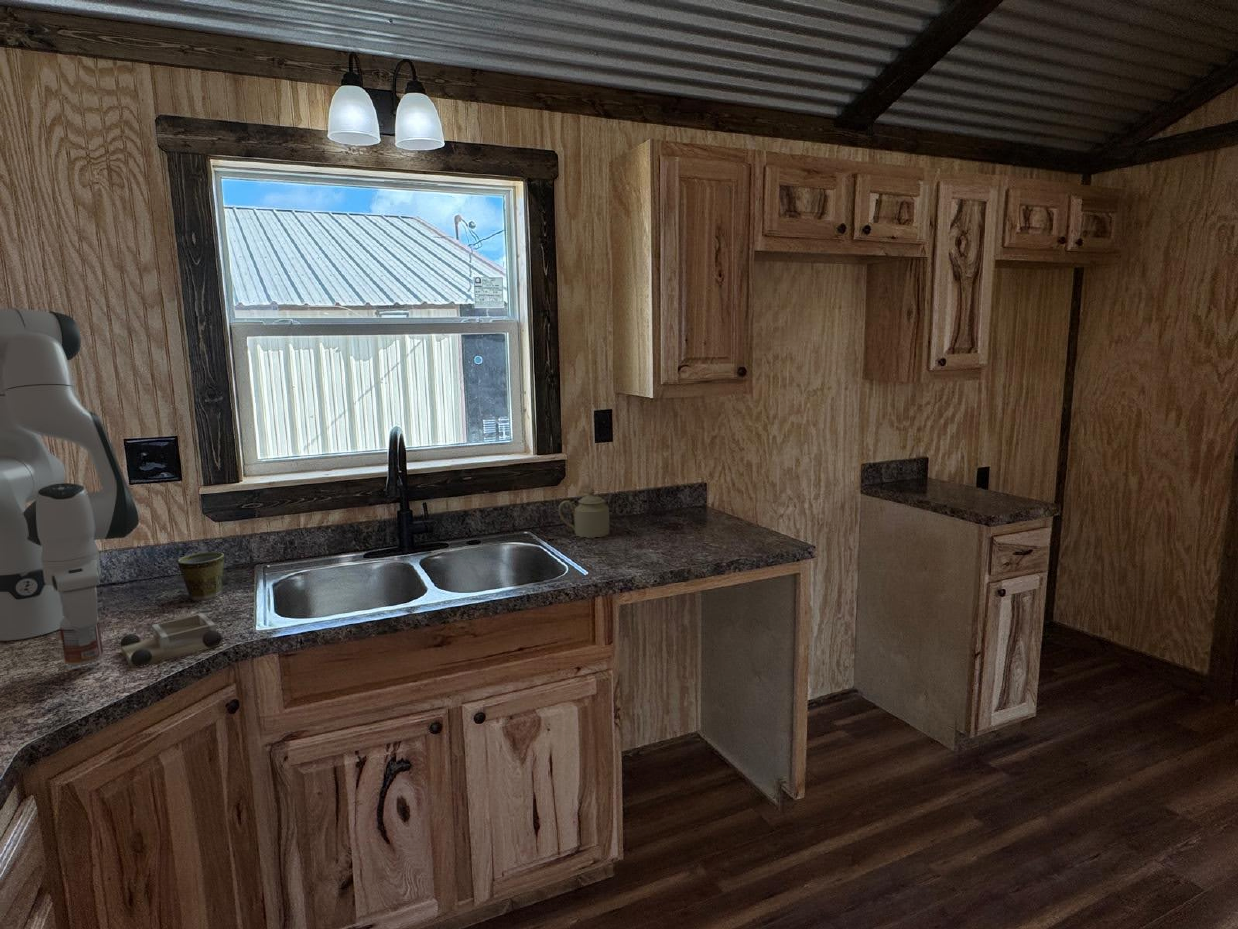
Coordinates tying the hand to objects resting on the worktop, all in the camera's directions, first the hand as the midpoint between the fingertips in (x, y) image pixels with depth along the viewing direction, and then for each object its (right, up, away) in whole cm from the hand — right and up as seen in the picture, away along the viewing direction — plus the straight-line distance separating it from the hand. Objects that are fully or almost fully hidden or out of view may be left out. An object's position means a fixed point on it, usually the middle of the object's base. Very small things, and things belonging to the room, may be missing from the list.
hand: (81, 638), depth 145 cm
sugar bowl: (+94, +11, +92) cm, 132 cm away
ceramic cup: (0, +1, +43) cm, 43 cm away
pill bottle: (0, -5, +1) cm, 5 cm away
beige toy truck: (+12, -4, +10) cm, 16 cm away
